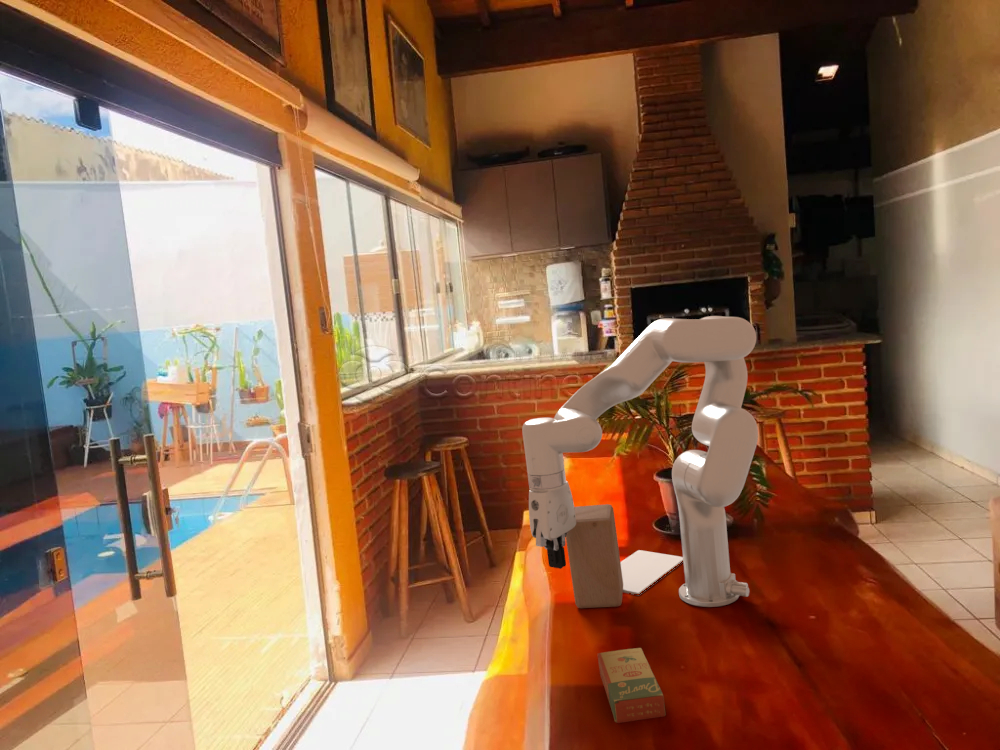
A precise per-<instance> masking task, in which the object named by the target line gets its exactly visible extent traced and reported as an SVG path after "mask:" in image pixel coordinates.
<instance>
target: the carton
mask: <svg viewBox="0 0 1000 750" xmlns="http://www.w3.org/2000/svg"><path fill="white" fill-rule="evenodd" d="M597 660H598V669H599V674H600V678H601V681H602V685H603V686H604V690H605V694H606V697H607V700H608V703H609V706H610V708H611V712H612V716H613V719H614V722H615V723H617V724H621V723H626V722H634V721H641V720H647V719H654V718H660V717H666V715H667V714H666V708H665V707H666V706H665V697H664V694H663V691H662V689H661V687H660V684H659V683H658V680H657V679H656V677H655V675H654V673H653V671H652V669H651V665H650V664H649V662H648V660H647V658H646V656H645V654H644V651H643V649H642V647H636V648H627V649H618V650H611V651H610V650H609V651H604V652H603V651H602V652H597Z"/></svg>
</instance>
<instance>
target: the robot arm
mask: <svg viewBox="0 0 1000 750" xmlns="http://www.w3.org/2000/svg"><path fill="white" fill-rule="evenodd" d="M756 343H757V332H756V330H755V328H754V326H753V324H751V323H750V322H749V321H748V320H746V319H745V318H743V317H739V316H722V315H710V316H709V315H707V316H704V317H701V318H699V319H696V318H695V319H693V318H692V319H689V318H688V319H687V318H671V317H670V318H669V317H667V318H660V319H657V320H654V321H653V322H652V323H651V322H650V324H649V325H648V326H647V327H646V328H645V329H644V330H643V331H642V332H641V333H640V335H638V337H637V338H635V339H634V340H633V342H632V343H631V344H629V346H628V347H627V348H626V349H624V351H623V352H622V353H621V354H620V355H619V356H618V357H617V359H616V360H615V361H613V363H612V364H610V366H608V367H607V368H605V369H604V370H603V371H601V372H600V373H598V374H597V375H596V376H595V377H593V378H592V379H591V380H589V381H587V382H586V383H585V384H584V385H582V386H581V387H580V388H579V389H577V391H576V392H574V393H573V395H572V396H570V398H568V400H567V401H566V402H565V403H564V404H563V405H562V406H561V407H560V408H559V410H557V412H556V413H555V415H554V417H537V418H531V419H529V420H527V421H525V422H524V423H523V425H522V427H521V429H522V432H521V433H522V439H523V448H524V454H525V455H524V456H525V457H524V458H525V464H526V472H527V481H528V487H529V491H528V516H529V527H530V532H531V535H532V537H533V539H535V546H536V547H542V548H543V547H544V549H545V550H546V551H547V552H546V553H547V554H546V555H547V561H548V566H549V567H550V568H554V569H559V570H561V569H563V567H566V566H567V563H566V554H565V552H566V551H565V548H564V547H565V546H566V534H567V533H568V532H569V531H570V530H571V529H573V528H574V527H575V525H576V515H575V509H574V507H575V504H574V499H573V495H572V490H571V487H570V484H569V481H567V480H566V479H567V478H566V470H565V463H564V462H565V461H564V454H563V453H585V452H589V451H592V450H594V449H595V448H596V447H597V446H598V445H599V444H600V442H601V441H602V437H603V429H602V427H601V424H600V423H599V422H598V420H597V419H598V418H599V417H601V415H603V414H604V413H605V412H606V411H607V410H609V409H610V408H612V407H614V406H616V405H618V404H621V403H625V402H626V401H627V402H628V401H630V400H632V399H635V398H637V397H639V396H641V395H642V394H643V393H644V392H645V391H646V390H647V389H648V388H649V387H650V386H651V384H653V382H654V381H655V380H656V379H657V378H658V377H659V376H660V375H661V374H662V373H663V372H664V371H665V370H666V368H668V367H669V366H670V365H671V364H672V362H675V363H676V362H677V363H704V368H705V377H704V382H703V385H702V388H701V393H700V395H699V399H698V402H697V404H696V405H697V406H696V409H695V411H694V415H693V418H692V423H691V433H692V435H693V437H694V438H695V439H696V440H697V441H698V442H699V443H700V444H703V445H705V446H707V447H708V450H707V451H704V450H701V449H690V450H686V451H683V452H682V453H680V454H679V455H678V456H677V458H676V459H675V460H674V462H673V465H672V469H671V478H672V479H671V480H672V485H673V490H674V495H675V497H676V503H677V509H678V517H679V518H678V519H679V526H680V527H679V529H680V539H681V550H682V557H683V562H682V563H683V573H684V582H685V583H683V584H682V585H681V586H680V587H679V588H678V595H679V598H680V599H681V601H683V602H685V603H686V604H689V605H691V606H695V607H704V608H713V607H714V608H715V607H723V606H726V605H731V604H733V603H734V602H736V601H737V600H738V599H739V597H746V598H747V597H749V596H750V588H749V584H748V583H747V582H742V581H738V580H736V574H735V573H732V572H731V567H730V566H731V565H730V553H729V551H730V550H729V542H728V531H727V530H728V528H727V516H726V510H725V509H726V508H725V507H727V506H729V505H731V504H733V503H734V502H735V501H736V500H737V499H738V498H739V496H740V495H741V493H742V490H743V489H744V487H745V483H746V480H747V477H748V475H749V471H750V467H751V465H752V461H753V459H754V455H755V451H756V450H757V445H758V441H759V440H758V439H759V428H758V424H757V421H756V419H755V417H754V416H753V414H751V413H750V412H749V411H747V410H746V409H745V408H742V405H743V402H744V397H745V394H746V389H747V385H748V367H747V364H746V360H745V357H748V355H749V354H751V352H752V351H753V350H754V348H755V346H756Z"/></svg>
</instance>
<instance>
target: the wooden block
mask: <svg viewBox="0 0 1000 750" xmlns="http://www.w3.org/2000/svg"><path fill="white" fill-rule="evenodd" d="M574 509H575V515H576V525H575V527H574V528H573V529H571V530H570V531H569V532H568V533H567V534H566V537H565V543H566V549H567V553H568V554H567V556H568V563H569V568H570V575H571V584H572V589H573V595H574V601H575V602H574V603H575V605H576V607H577V608H579V609H588V608H589V609H590V608H593V609H594V608H610V607H611V608H612V607H619V606H621V605H622V602H623V593H624V592H623V578H622V571H621V563H620V562H621V557H620V556H621V555H620V550H619V542H618V534H617V528H616V520H615V511H614V507H613V505H612V504H607V503H606V504H596V505H595V504H594V505H593V504H592V505H584V506H582V505H580V506H574Z"/></svg>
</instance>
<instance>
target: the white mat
mask: <svg viewBox="0 0 1000 750" xmlns="http://www.w3.org/2000/svg"><path fill="white" fill-rule="evenodd" d="M682 561H683V556H679V555H673V554H666V553H660V552H653V551H647V550H642V549H641V550H640V549H638V550H636V551H635V552H633V553H632V554H631V555H628V556H627V557H625V559H623V560H620V563H621V571H622V578H623V593H625V594H629V593H631V594H630V595H634V594H640V593H641V592H642V591H644V590H645V589H646V588H648V587H649V586H650V585H652V584H653V583H654V582H656V581H657V580H658V579H659V578H661V577H662V576H663V575H664V574H666V573H667V572H669V571H670V570H671V569H673V568H674V567H675V566H677V565H678V564H680V563H681V562H682ZM682 563H683V562H682ZM682 563H681V564H682ZM681 564H680V565H681ZM678 566H679V565H678ZM678 566H677V567H678ZM674 569H675V568H674ZM674 569H673V570H674ZM670 572H671V571H670ZM670 572H669V573H670ZM661 579H662V578H661ZM657 582H658V581H657ZM657 582H656V583H657ZM653 585H654V584H653ZM653 585H652V586H653ZM649 588H650V587H649ZM649 588H648V589H649ZM645 591H646V590H645ZM645 591H644V592H645ZM641 594H642V593H641ZM641 594H640V595H641Z"/></svg>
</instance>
